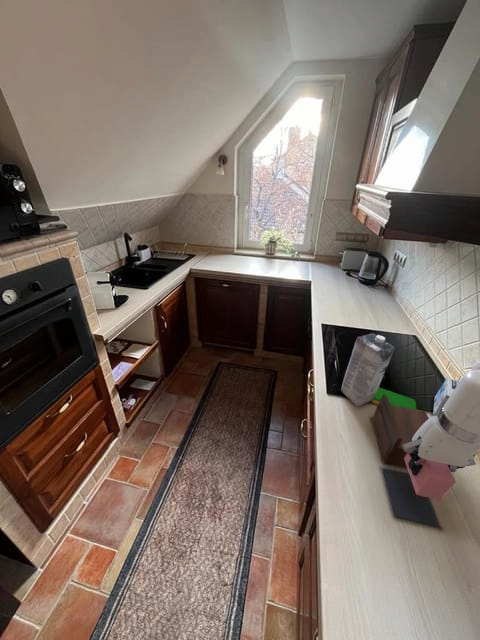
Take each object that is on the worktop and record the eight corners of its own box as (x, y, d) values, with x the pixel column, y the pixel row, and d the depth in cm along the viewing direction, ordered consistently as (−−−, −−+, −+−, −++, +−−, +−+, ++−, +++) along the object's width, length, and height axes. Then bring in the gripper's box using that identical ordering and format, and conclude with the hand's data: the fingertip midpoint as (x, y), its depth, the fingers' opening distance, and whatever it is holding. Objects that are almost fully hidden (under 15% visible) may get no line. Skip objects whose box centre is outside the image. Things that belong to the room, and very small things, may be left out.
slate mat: (420, 477, 72) (420, 476, 71) (439, 527, 62) (439, 526, 61) (382, 469, 73) (382, 468, 73) (394, 516, 63) (395, 515, 63)
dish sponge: (373, 390, 100) (374, 385, 99) (413, 404, 94) (415, 399, 93) (371, 402, 94) (373, 397, 93) (413, 418, 89) (416, 413, 88)
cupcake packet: (424, 462, 66) (437, 444, 62) (439, 500, 59) (456, 482, 55) (403, 458, 67) (415, 439, 63) (416, 494, 60) (430, 476, 55)
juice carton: (357, 410, 91) (380, 350, 77) (336, 390, 99) (354, 332, 86) (375, 402, 94) (400, 344, 81) (354, 383, 103) (373, 327, 89)
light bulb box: (434, 397, 97) (446, 376, 92) (455, 405, 94) (469, 384, 89) (432, 415, 90) (446, 394, 84) (455, 425, 87) (471, 404, 81)
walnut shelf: (415, 426, 86) (430, 402, 80) (436, 474, 72) (456, 449, 66) (371, 418, 88) (382, 394, 82) (384, 463, 75) (398, 438, 69)
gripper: (496, 417, 54) (456, 465, 63) (409, 402, 57) (383, 450, 66) (521, 449, 48) (473, 497, 57) (422, 430, 51) (391, 479, 60)
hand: (425, 471), depth 61 cm, fingers closed on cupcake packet, 5 cm apart
